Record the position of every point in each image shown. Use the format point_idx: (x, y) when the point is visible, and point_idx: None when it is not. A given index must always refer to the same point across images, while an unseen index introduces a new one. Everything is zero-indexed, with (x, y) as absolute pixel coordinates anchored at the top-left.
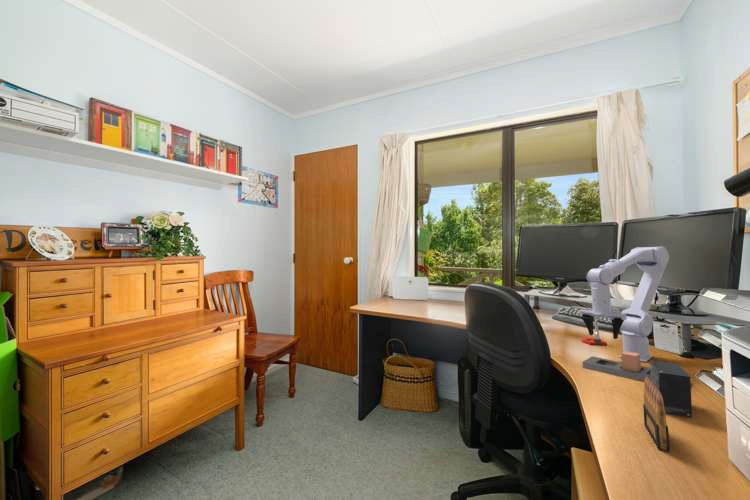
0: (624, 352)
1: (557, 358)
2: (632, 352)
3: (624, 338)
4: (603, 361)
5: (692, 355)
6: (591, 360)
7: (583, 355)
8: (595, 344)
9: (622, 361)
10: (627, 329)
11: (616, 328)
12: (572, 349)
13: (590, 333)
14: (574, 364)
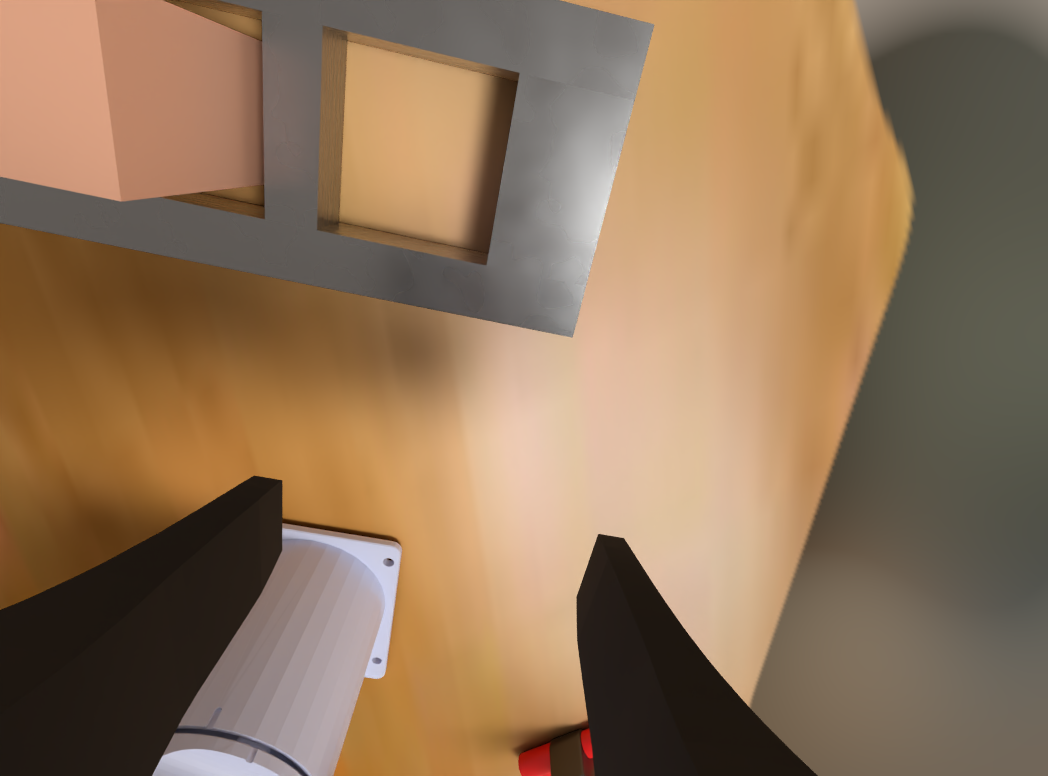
0: (86, 84)
1: (884, 238)
2: (10, 157)
3: (303, 709)
4: (462, 257)
5: None
6: (563, 161)
7: (648, 462)
8: (584, 731)
9: (175, 9)
10: None
11: (48, 600)
12: (733, 574)
13: (615, 552)
14: (722, 112)
